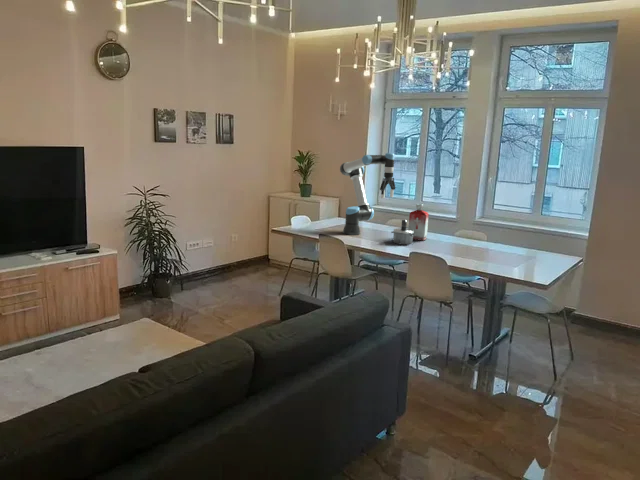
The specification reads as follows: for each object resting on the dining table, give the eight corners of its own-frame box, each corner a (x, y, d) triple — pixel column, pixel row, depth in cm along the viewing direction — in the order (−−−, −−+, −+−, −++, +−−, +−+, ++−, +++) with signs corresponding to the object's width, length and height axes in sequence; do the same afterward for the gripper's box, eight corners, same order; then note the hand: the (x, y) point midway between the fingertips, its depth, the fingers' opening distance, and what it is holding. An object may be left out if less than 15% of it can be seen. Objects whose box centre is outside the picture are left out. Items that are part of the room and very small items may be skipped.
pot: (387, 241, 421) (387, 231, 419) (397, 239, 433) (397, 228, 431) (408, 245, 408) (409, 234, 406) (418, 243, 420) (419, 232, 418)
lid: (389, 231, 418) (390, 219, 416) (400, 229, 430) (401, 217, 428) (407, 234, 407) (407, 222, 405) (417, 232, 420) (418, 220, 418)
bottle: (407, 239, 435) (409, 204, 429) (410, 237, 444) (413, 202, 438) (423, 241, 429) (426, 205, 423) (427, 239, 438) (430, 204, 432)
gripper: (384, 173, 411) (382, 199, 415) (400, 172, 429) (398, 197, 434) (376, 172, 415) (375, 198, 420) (393, 171, 434) (391, 196, 439)
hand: (387, 197), depth 427 cm, fingers open, 13 cm apart
